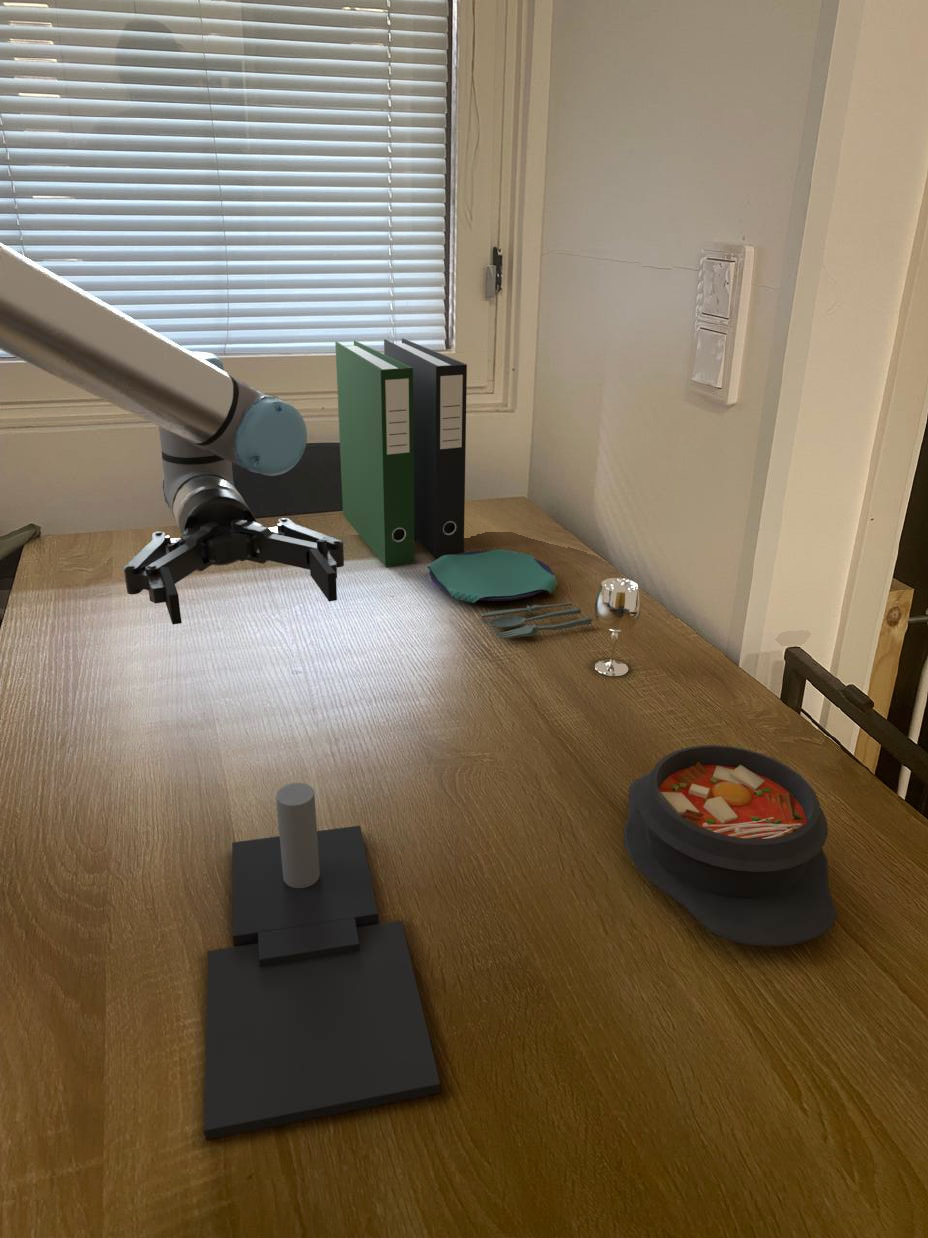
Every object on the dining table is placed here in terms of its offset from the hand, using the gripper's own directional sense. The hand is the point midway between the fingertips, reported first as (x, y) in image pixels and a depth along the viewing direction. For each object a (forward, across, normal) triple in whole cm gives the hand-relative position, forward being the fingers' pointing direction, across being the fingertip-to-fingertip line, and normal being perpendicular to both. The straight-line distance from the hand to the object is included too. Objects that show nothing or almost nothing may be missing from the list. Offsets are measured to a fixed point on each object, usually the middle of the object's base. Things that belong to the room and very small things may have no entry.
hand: (256, 598), depth 79 cm
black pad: (+24, +2, -25) cm, 35 cm away
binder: (-74, -39, -25) cm, 87 cm away
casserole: (+21, -38, -25) cm, 50 cm away
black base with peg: (+11, 0, -25) cm, 27 cm away
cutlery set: (-42, -45, -25) cm, 66 cm away
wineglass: (-16, -48, -25) cm, 57 cm away
